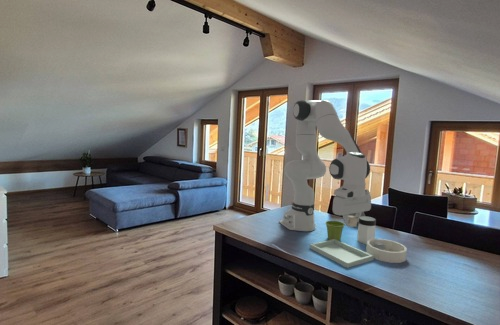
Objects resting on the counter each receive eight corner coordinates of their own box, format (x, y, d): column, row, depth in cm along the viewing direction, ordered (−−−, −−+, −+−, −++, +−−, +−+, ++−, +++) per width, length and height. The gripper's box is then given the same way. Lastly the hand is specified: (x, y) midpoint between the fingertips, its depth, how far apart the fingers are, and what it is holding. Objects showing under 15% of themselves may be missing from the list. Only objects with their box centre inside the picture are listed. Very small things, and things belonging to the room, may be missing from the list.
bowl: (358, 252, 133) (359, 242, 133) (380, 246, 142) (381, 236, 141) (391, 267, 120) (392, 255, 119) (413, 259, 128) (414, 248, 127)
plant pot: (321, 239, 149) (321, 222, 148) (330, 235, 156) (331, 219, 155) (337, 244, 142) (338, 227, 141) (346, 240, 149) (348, 223, 148)
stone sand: (343, 224, 125) (344, 216, 125) (350, 223, 127) (351, 215, 127) (351, 227, 121) (352, 219, 121) (358, 226, 124) (359, 217, 123)
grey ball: (371, 250, 134) (372, 243, 134) (378, 249, 136) (378, 241, 136) (380, 254, 130) (381, 246, 130) (386, 252, 133) (387, 244, 132)
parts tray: (309, 249, 135) (310, 244, 135) (334, 243, 144) (334, 238, 143) (347, 269, 117) (347, 263, 116) (373, 261, 125) (373, 255, 124)
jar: (356, 237, 153) (358, 215, 152) (373, 239, 151) (375, 217, 150) (357, 243, 145) (359, 220, 144) (375, 245, 142) (376, 222, 141)
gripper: (363, 187, 131) (361, 217, 132) (331, 191, 120) (328, 223, 122) (376, 190, 125) (373, 221, 127) (343, 194, 115) (340, 228, 116)
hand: (351, 222), depth 124 cm, fingers closed on stone sand, 4 cm apart
